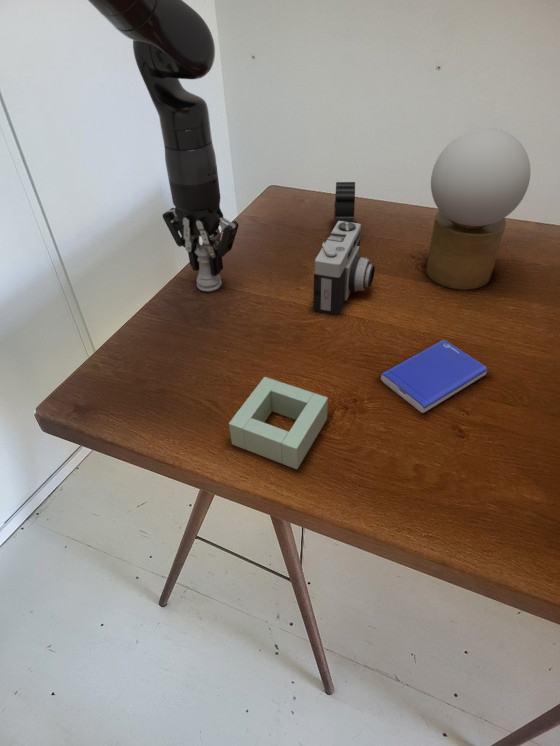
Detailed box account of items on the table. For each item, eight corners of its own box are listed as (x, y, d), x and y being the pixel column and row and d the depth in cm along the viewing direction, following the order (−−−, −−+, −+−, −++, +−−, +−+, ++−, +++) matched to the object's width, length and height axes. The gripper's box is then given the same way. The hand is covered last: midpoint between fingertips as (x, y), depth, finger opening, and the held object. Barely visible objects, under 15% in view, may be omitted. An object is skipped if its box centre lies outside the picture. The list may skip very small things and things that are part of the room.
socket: (231, 444, 66) (228, 423, 63) (266, 397, 72) (264, 376, 69) (297, 470, 62) (296, 448, 60) (327, 418, 68) (328, 397, 66)
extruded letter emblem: (352, 260, 97) (356, 203, 90) (334, 260, 98) (336, 203, 90) (350, 216, 110) (353, 163, 103) (334, 216, 111) (336, 164, 103)
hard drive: (443, 338, 77) (381, 372, 72) (488, 367, 72) (424, 406, 67) (441, 346, 78) (380, 380, 73) (485, 375, 73) (423, 414, 68)
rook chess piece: (200, 278, 94) (193, 239, 89) (224, 279, 94) (218, 239, 89) (194, 292, 91) (187, 252, 86) (219, 293, 91) (213, 252, 85)
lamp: (494, 309, 84) (541, 152, 67) (407, 294, 89) (431, 142, 72) (502, 263, 95) (544, 116, 78) (424, 251, 99) (448, 109, 82)
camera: (360, 320, 84) (364, 265, 77) (311, 311, 86) (311, 257, 79) (378, 275, 93) (384, 223, 86) (334, 268, 96) (336, 217, 89)
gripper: (140, 175, 79) (161, 273, 91) (218, 189, 74) (230, 291, 86) (169, 157, 84) (186, 253, 95) (245, 170, 79) (253, 269, 90)
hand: (207, 270), depth 90 cm, fingers closed on rook chess piece, 3 cm apart
